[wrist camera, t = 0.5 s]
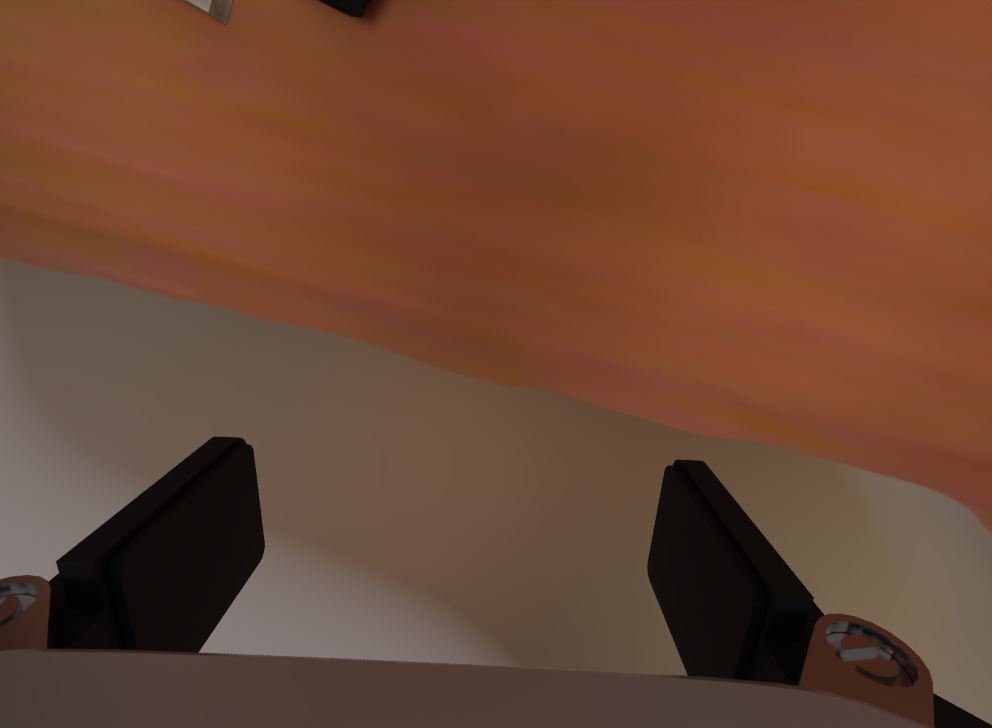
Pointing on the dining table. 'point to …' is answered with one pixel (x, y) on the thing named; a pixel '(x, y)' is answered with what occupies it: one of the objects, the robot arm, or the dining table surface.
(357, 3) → the film camera
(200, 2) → the camera rest
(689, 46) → the dining table surface
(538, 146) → the dining table surface
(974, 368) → the dining table surface
